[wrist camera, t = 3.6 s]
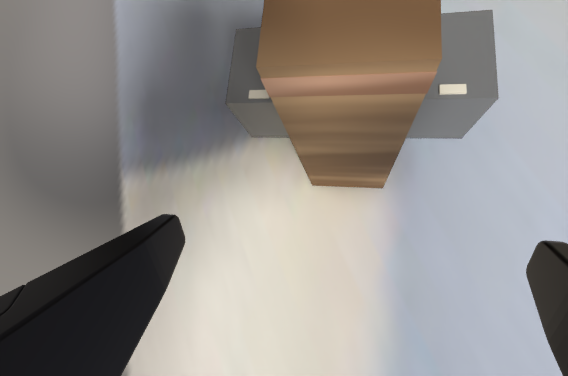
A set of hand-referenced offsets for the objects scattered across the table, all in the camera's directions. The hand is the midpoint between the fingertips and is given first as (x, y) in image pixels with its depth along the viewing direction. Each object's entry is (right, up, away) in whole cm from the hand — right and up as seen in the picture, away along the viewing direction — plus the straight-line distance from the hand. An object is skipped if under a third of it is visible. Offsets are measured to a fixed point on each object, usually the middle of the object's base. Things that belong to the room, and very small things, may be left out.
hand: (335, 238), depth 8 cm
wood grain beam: (+3, +3, +13) cm, 13 cm away
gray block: (+3, +7, +13) cm, 16 cm away
